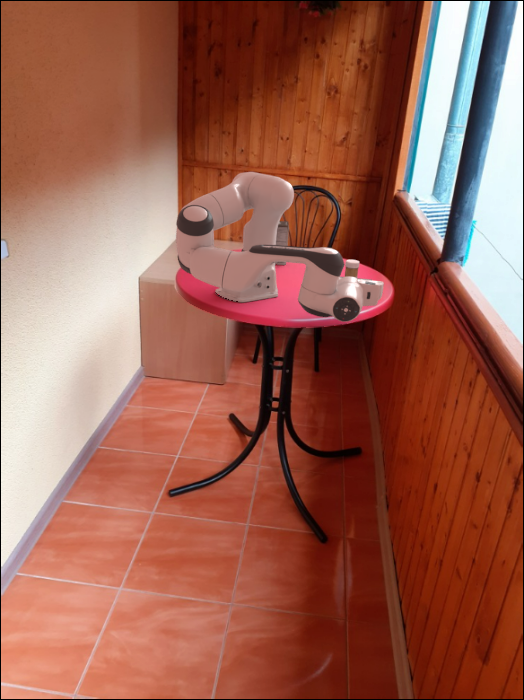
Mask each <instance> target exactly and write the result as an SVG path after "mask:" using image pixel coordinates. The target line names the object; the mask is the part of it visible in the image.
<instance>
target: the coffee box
mask: <svg viewBox="0 0 524 700" xmlns="http://www.w3.org/2000/svg"><path fill="white" fill-rule="evenodd" d="M289 223H290V222H289V221H288V220H285V221H284V220H281V221H279V224H278V228H277V235H276V245H282V246H289V245H288V243H289ZM276 264H277V265H278V266H279V265H281V266H287V262H275V265H276Z"/></svg>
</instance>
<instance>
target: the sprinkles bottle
mask: <svg viewBox="0 0 524 700" xmlns="http://www.w3.org/2000/svg"><path fill="white" fill-rule="evenodd" d="M344 264H345V265H344V267H345V270H344V277H347V276H350V277H355V278H358V273H359V267H360V261H359V260H356V259H347V260H345V262H344Z"/></svg>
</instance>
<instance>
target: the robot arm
mask: <svg viewBox="0 0 524 700" xmlns="http://www.w3.org/2000/svg"><path fill="white" fill-rule="evenodd" d="M294 198H295V191H294V188H293V186H292V184H291V183H290V182H289V181H287V180H285V179H284V178H281V177H279V176H274V175H270V174H265V173H259V172H256V171H248V172H247V171H246V172H240V173H238V174H237V175H235V177H234V178H233V179H232V182H231V183H229V184H227V185H225V186H224V187H222V188H219V189H216V190H213V191H211V192H209V193H207V194H204V195H201V196H199V197H197V198H195V199H194V200H193V199H192V200H191V201H190V202H189V203H187V204H185V205H184V206H183V207H182V208H181V209H180V211H179V213H178V215H177V217H176V232H175V233H176V234H175V243H176V248H177V249H176V251H177V260H178V261H177V262H178V264H179V267H180V269H181V270H183V271H184V272H186V273H187V274H189V275H191V276H193V277H194V279H196V280H199V281H201V282H203V283H205V284H208V285H211V286H213V287H216V289H215V290H214V291H215V292H216V293H217V294H219V295H220V296H222V297H221V298H223V297H224V298H223V299H225V298H227V299H226V300H228V299H229V300H228V301H231V300H233V301H232V302H236V301H238V302H237V303H249V302H252V301H258V300H259V301H260V300H264V299H272V298H275V297H276V298H277V297H278V296H279V293H278V292H279V290H278V287H277V286H278V285H277V272H276V271H277V270H276V264H275V262H286V263H292V264H304V265H305V268H304V269H305V270H304V273H303V277H302V281H301V285H300V288H299V291H298V296H297V300H298V301H297V302H298V303H299V305H300V306H301V308H302V309H303V310H304V311H305V312H306V313H308V314H310V315H313V316H316V317H320V318H329V317H333V318H334V319H335V320H337V321H339V322H351V321H353V320H355V319H356V318H358V316H359V315H360V314H361V312H362V309H363V307H372V306H373V307H374V306H377V305H378V303H379V301H380V300H381V298H382V297H383V294H384V293H383V292H384V285H385V284H384V281H380V280H373V279H371V280H362V279H363V278H361V279H357V278H358V277H357V278H355V277H350V276H347V277H345V276H341V275H342V273H343V270H344V267H345V261H344V259H343V256H342V254H341V253H340V251H338V250H336V249H334V248H332V247H324V246H323V247H310V246H309V247H308V246H307V247H305V246H293V245H287V246H282V245H276V235H277V228H278V224H279V221H280V220H281V218H282V217H283V214H284V213H285V212H286V211H287V210H289V209H290V207H291V206H292V204H293V202H294ZM252 209H253V211H252V215H251V217H250V220H248V221H247V222H246V223H245V225H244V226H243V233H242V234H243V235H242V236H243V237H242V249H241V250H240V251H234V250H230V249H225V248H221V247H216V246H215V235H214V233H215V232H214V231H216V230H219V229H221V228H224V227H226V226H229V225H231V224H233V223H236V222H238V221H241V219H242V218H243V216H244V213H245V212H246V211H248V210H252ZM341 277H343V278H341ZM215 292H214V293H215ZM216 293H215V294H216ZM217 294H216V295H217ZM220 296H219V297H220Z"/></svg>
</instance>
